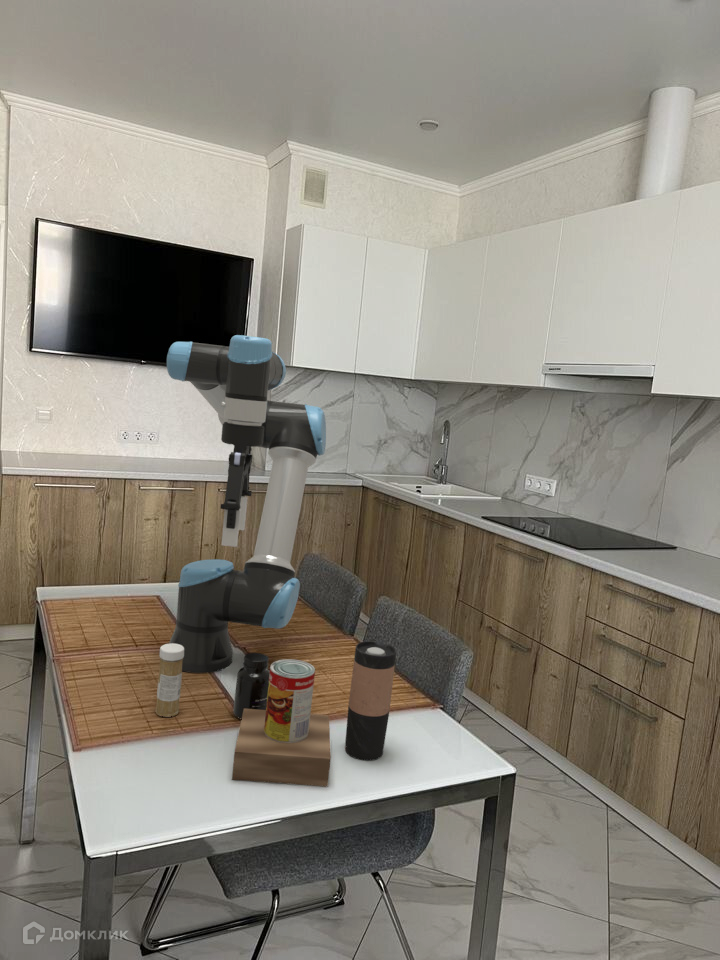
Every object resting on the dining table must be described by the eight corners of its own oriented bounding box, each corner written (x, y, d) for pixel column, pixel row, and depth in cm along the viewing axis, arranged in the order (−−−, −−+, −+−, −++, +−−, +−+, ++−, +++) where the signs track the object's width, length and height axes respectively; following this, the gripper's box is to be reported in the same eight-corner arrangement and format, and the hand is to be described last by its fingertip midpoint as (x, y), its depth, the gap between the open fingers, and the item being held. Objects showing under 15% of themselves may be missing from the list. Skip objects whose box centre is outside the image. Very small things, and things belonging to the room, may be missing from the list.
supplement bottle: (261, 725, 144) (266, 666, 142) (227, 718, 145) (233, 660, 143) (272, 710, 150) (278, 654, 149) (240, 704, 151) (245, 648, 150)
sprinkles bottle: (161, 705, 147) (166, 641, 145) (183, 710, 146) (188, 645, 144) (150, 715, 142) (155, 648, 141) (172, 720, 142) (178, 653, 140)
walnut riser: (241, 733, 139) (243, 708, 139) (326, 739, 141) (329, 715, 140) (232, 779, 124) (234, 751, 123) (327, 786, 125) (330, 758, 124)
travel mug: (354, 764, 133) (367, 658, 130) (336, 743, 140) (348, 642, 137) (391, 758, 137) (404, 654, 134) (372, 738, 143) (384, 639, 141)
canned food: (281, 717, 137) (288, 655, 135) (316, 731, 133) (323, 668, 131) (254, 732, 130) (261, 667, 129) (291, 748, 126) (297, 681, 125)
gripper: (230, 416, 146) (221, 521, 149) (213, 425, 122) (203, 551, 124) (269, 420, 147) (259, 525, 150) (259, 430, 122) (247, 555, 125)
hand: (233, 537), depth 137 cm, fingers open, 13 cm apart
